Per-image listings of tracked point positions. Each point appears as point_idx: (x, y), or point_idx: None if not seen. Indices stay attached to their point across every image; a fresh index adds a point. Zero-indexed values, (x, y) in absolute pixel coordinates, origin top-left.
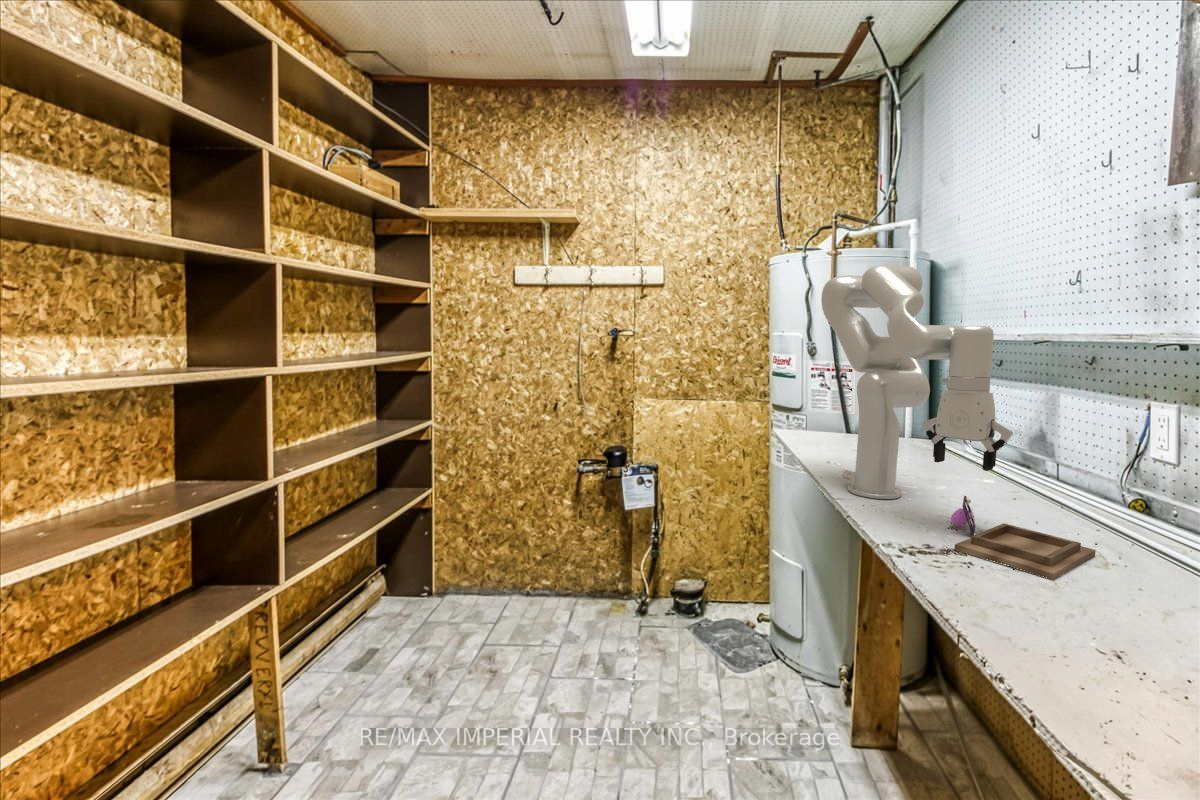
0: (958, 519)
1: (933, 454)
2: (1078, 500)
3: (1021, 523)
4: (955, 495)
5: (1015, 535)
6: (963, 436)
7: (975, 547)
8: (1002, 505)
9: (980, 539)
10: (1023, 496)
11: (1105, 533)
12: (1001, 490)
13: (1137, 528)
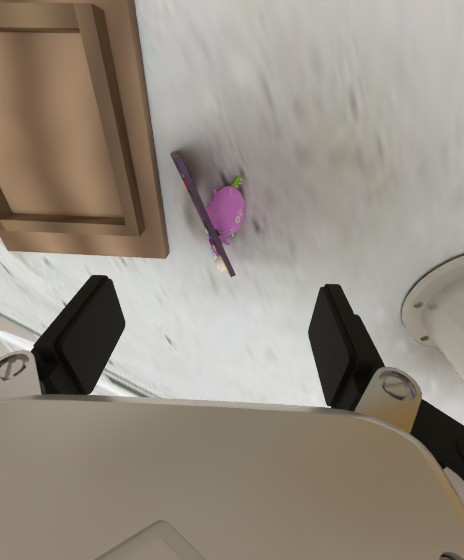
0: (221, 192)
1: (360, 321)
2: None
3: (177, 321)
4: (314, 381)
5: (112, 214)
6: (129, 424)
7: None
8: (241, 380)
9: (64, 4)
10: None
11: None
12: None
13: (99, 394)
